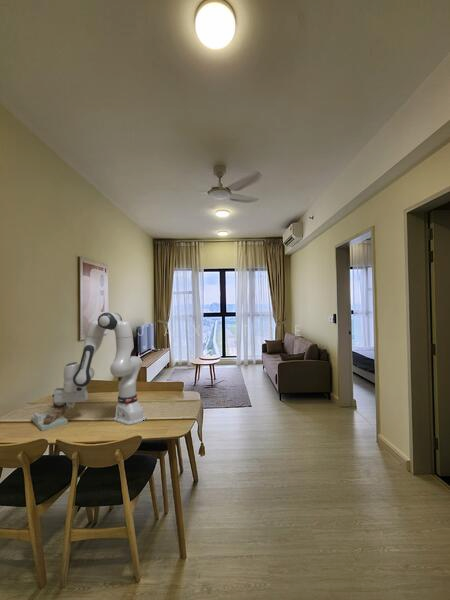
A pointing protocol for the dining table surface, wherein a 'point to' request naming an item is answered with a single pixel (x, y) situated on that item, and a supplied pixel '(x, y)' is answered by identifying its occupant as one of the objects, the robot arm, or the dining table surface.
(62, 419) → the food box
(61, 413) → the brown long bar
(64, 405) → the food container
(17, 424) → the dining table surface
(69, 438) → the dining table surface
